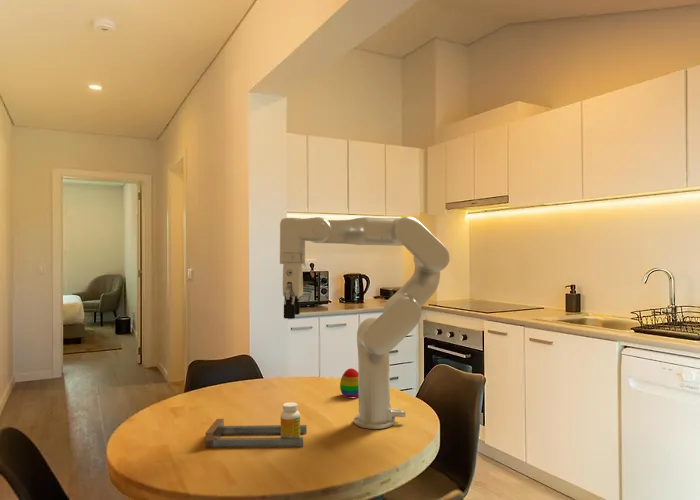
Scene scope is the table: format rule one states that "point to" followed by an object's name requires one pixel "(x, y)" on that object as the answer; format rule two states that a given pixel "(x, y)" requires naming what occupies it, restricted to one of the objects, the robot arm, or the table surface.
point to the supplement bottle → (290, 420)
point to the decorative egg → (350, 383)
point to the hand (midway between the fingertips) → (291, 316)
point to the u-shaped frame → (219, 430)
